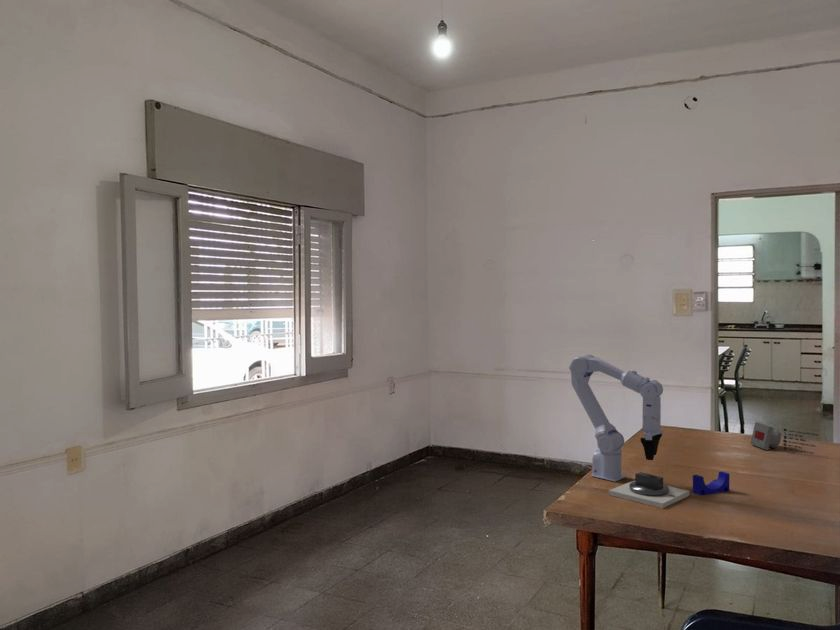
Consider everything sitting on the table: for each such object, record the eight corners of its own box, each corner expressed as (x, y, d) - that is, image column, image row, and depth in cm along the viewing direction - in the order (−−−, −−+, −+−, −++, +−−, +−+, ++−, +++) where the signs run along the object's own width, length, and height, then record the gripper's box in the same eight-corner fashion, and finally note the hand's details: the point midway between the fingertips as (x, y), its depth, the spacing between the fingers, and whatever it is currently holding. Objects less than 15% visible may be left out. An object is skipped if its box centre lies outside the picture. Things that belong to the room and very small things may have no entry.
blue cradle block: (718, 488, 214) (718, 470, 214) (729, 492, 210) (729, 473, 210) (689, 491, 210) (689, 473, 210) (699, 496, 206) (699, 477, 206)
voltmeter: (744, 447, 270) (744, 423, 270) (756, 443, 277) (756, 420, 277) (814, 459, 249) (815, 434, 249) (825, 455, 257) (826, 430, 256)
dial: (655, 498, 198) (655, 483, 198) (621, 488, 207) (621, 474, 207) (676, 490, 205) (676, 476, 205) (643, 481, 215) (643, 468, 214)
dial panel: (608, 494, 207) (608, 489, 207) (637, 483, 219) (637, 478, 219) (662, 508, 194) (662, 502, 193) (689, 495, 206) (689, 490, 206)
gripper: (661, 421, 208) (661, 463, 209) (666, 414, 221) (666, 453, 222) (638, 420, 212) (638, 461, 212) (645, 412, 224) (644, 451, 225)
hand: (651, 457), depth 217 cm, fingers open, 7 cm apart
